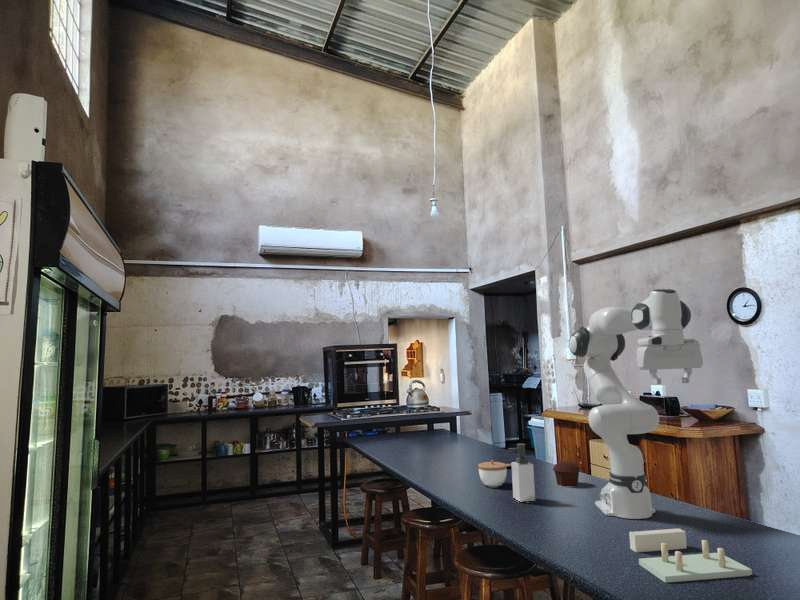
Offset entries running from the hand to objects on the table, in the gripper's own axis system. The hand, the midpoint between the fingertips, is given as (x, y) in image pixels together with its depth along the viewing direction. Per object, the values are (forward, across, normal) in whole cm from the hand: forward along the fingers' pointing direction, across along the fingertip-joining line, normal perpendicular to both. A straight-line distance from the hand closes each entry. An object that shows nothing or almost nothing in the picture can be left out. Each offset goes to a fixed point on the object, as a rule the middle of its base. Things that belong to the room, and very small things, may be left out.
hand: (671, 383), depth 166 cm
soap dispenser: (+48, +32, -56) cm, 80 cm away
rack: (+48, +10, +18) cm, 52 cm away
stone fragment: (+49, +20, -116) cm, 127 cm away
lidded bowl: (+48, +36, -82) cm, 101 cm away
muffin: (+48, +4, -76) cm, 90 cm away
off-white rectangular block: (+48, +10, +2) cm, 49 cm away
